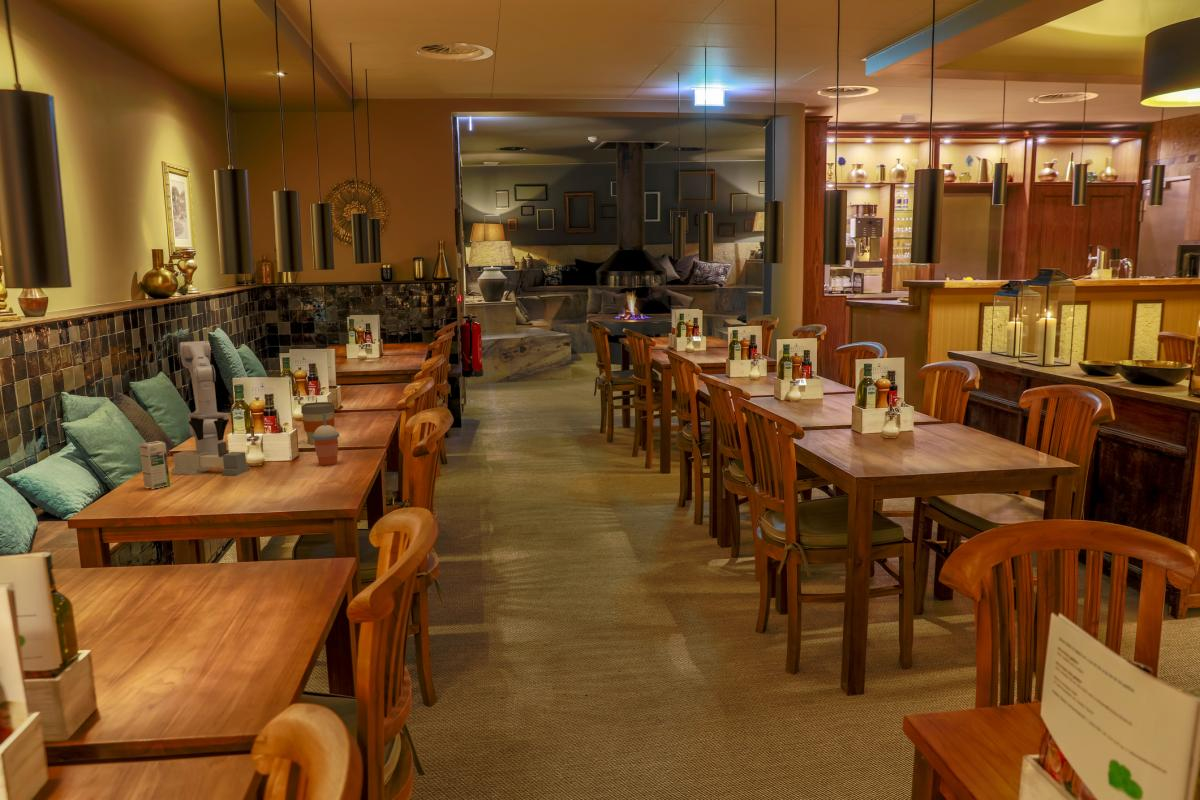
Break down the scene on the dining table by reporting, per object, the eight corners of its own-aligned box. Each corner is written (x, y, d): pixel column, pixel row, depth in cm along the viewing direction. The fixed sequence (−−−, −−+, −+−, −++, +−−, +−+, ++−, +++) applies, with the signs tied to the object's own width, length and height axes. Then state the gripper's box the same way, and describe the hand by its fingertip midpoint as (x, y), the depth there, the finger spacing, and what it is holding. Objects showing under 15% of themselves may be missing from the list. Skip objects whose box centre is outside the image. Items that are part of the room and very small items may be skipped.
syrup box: (152, 490, 277) (147, 445, 275) (143, 487, 281) (138, 443, 278) (170, 486, 282) (165, 442, 279) (161, 483, 285) (156, 440, 283)
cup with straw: (336, 466, 303) (332, 415, 301) (310, 466, 304) (306, 415, 301) (344, 460, 312) (341, 410, 310) (319, 460, 313) (315, 411, 310)
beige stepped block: (172, 474, 298) (170, 455, 297) (187, 468, 306) (185, 450, 304) (196, 474, 296) (194, 455, 295) (210, 469, 304) (209, 450, 303)
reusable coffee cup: (304, 440, 350) (301, 403, 347) (336, 437, 353) (334, 401, 351) (303, 446, 338) (300, 408, 336) (337, 443, 342) (334, 405, 339)
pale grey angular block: (196, 466, 298) (194, 443, 297) (203, 464, 302) (200, 441, 300) (234, 467, 296) (232, 444, 295) (240, 464, 299) (238, 442, 298)
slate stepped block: (222, 475, 295) (220, 456, 293) (235, 469, 302) (234, 450, 301) (235, 475, 294) (233, 456, 293) (249, 469, 301) (247, 451, 300)
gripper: (180, 402, 297) (184, 441, 299) (219, 402, 295) (222, 442, 297) (193, 399, 304) (197, 437, 306) (231, 399, 302) (235, 438, 304)
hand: (210, 439), depth 302 cm, fingers open, 7 cm apart
